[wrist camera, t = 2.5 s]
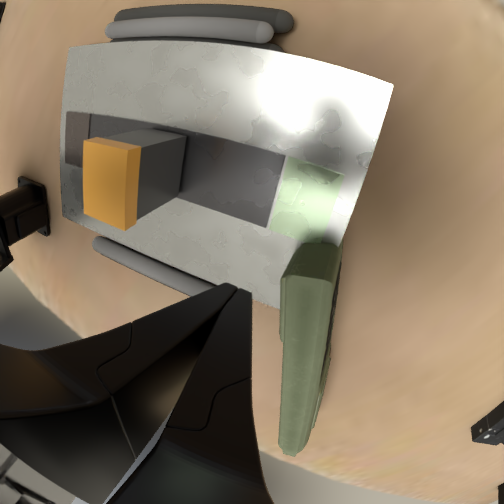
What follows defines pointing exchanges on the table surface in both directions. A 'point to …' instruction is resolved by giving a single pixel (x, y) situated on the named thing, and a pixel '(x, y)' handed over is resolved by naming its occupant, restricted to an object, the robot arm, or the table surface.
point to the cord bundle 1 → (201, 24)
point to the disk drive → (490, 427)
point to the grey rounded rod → (150, 267)
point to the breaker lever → (131, 174)
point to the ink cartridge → (501, 494)
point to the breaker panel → (227, 150)
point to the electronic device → (1, 8)
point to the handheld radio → (306, 338)
